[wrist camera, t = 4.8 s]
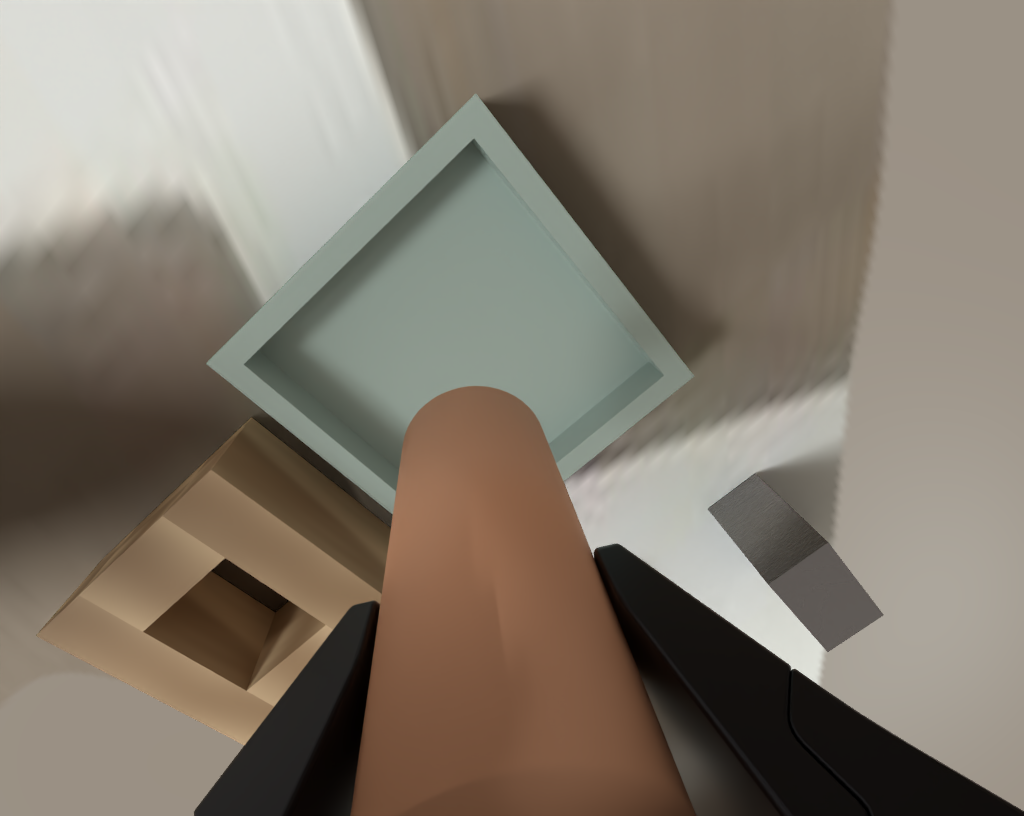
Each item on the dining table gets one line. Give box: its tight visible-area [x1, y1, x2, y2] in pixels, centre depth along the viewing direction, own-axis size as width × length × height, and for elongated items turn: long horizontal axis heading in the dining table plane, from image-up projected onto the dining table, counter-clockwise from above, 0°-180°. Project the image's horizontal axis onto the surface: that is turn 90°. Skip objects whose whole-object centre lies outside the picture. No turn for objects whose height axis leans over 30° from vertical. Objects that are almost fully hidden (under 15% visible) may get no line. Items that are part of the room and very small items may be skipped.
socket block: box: [36, 417, 391, 745], centre depth 21 cm, size 9×9×4 cm
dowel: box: [350, 386, 696, 816], centre depth 9 cm, size 4×4×9 cm
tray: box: [206, 94, 694, 515], centre depth 20 cm, size 12×12×2 cm
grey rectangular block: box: [708, 474, 883, 652], centre depth 23 cm, size 3×5×5 cm, turn 41°
